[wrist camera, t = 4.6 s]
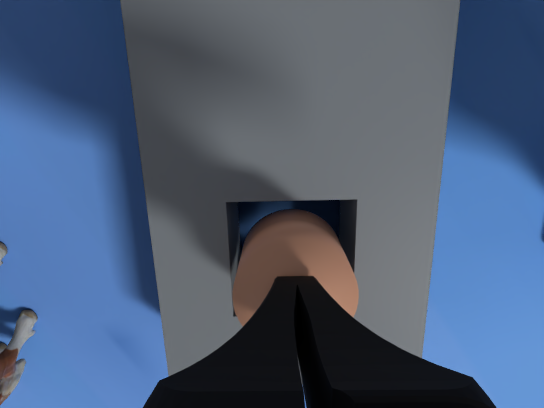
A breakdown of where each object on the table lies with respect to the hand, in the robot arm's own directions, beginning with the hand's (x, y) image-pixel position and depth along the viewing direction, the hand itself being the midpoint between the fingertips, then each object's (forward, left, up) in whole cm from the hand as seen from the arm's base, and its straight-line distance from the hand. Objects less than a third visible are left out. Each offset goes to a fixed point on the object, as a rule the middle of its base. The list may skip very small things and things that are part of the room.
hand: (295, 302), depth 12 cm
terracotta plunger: (0, 0, -4) cm, 4 cm away
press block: (0, -7, -7) cm, 10 cm away
